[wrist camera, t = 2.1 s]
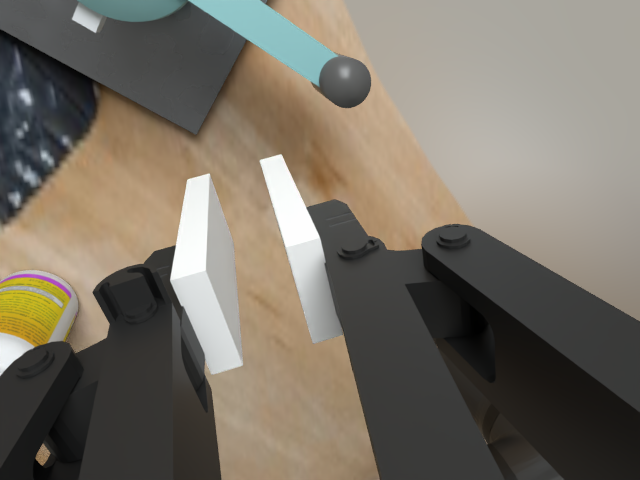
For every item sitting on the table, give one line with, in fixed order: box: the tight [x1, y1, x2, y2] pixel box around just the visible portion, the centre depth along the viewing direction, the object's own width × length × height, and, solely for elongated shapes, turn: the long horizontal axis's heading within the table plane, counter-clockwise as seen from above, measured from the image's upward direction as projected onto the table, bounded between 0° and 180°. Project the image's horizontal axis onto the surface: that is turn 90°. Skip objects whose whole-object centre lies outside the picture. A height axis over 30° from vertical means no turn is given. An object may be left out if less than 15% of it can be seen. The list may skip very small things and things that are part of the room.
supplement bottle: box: [0, 270, 78, 376], centre depth 34 cm, size 7×7×13 cm
